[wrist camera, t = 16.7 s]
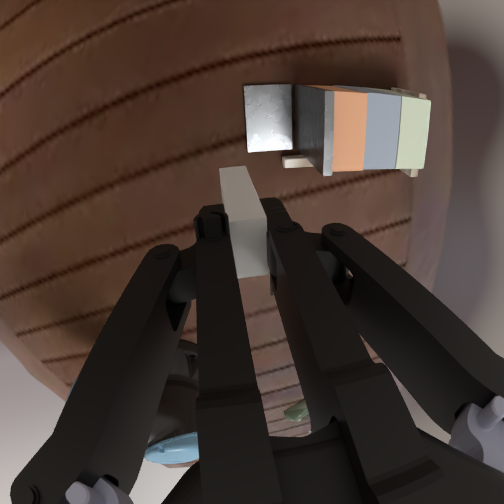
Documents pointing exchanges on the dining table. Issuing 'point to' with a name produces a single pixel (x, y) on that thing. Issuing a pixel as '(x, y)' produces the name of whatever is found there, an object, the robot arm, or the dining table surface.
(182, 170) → the dining table surface
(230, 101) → the dining table surface
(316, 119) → the bookend
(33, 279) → the dining table surface
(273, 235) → the robot arm
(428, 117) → the book sage
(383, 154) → the book slate
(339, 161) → the book rust
